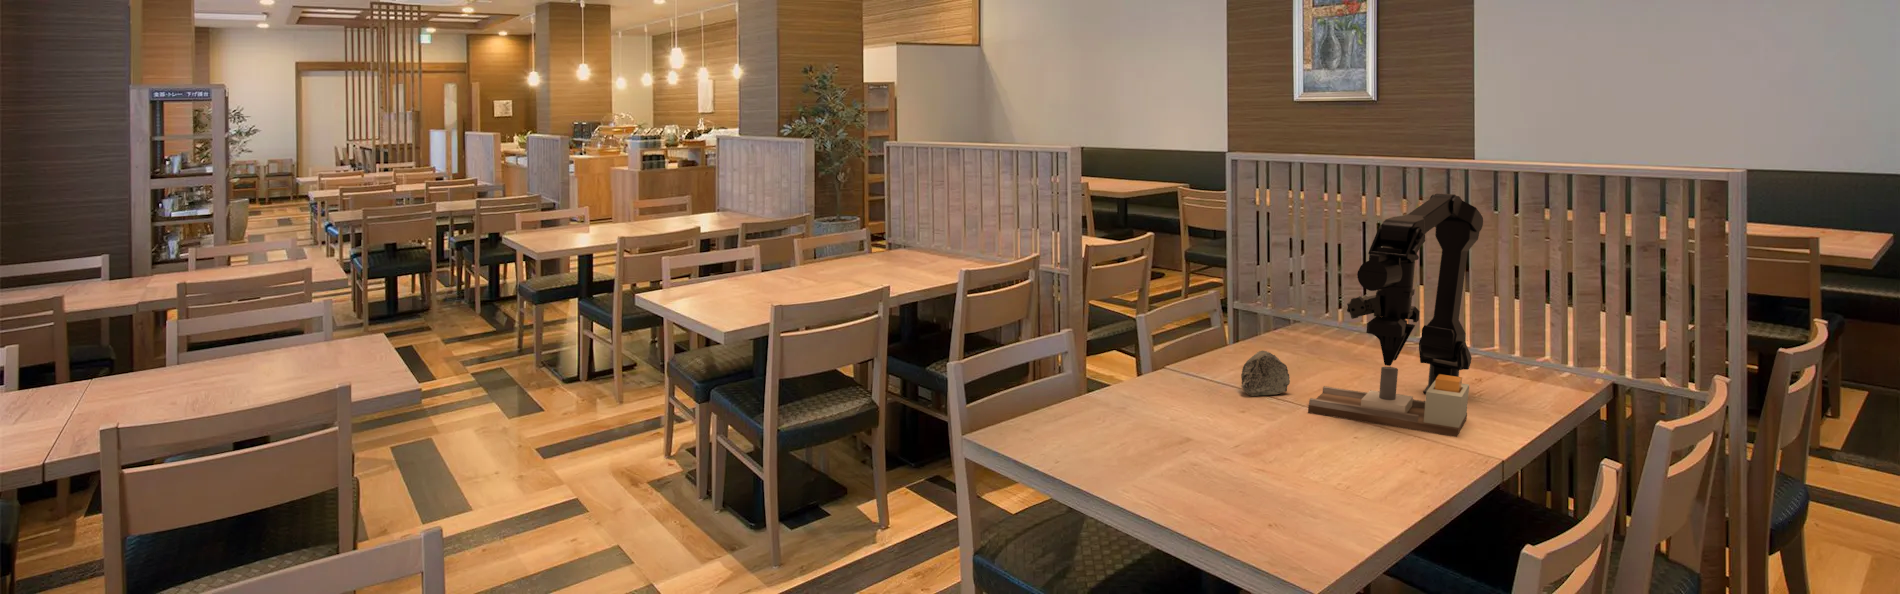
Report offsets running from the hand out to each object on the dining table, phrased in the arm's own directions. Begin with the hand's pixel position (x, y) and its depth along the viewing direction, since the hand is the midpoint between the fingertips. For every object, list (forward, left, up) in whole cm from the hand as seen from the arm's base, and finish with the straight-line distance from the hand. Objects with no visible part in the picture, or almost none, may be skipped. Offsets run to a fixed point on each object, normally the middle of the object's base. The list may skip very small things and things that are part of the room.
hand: (1390, 362), depth 191 cm
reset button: (0, +11, -7) cm, 12 cm away
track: (0, 0, -11) cm, 11 cm away
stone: (-4, -25, -11) cm, 28 cm away
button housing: (0, +10, -10) cm, 14 cm away
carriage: (0, 0, -9) cm, 9 cm away
